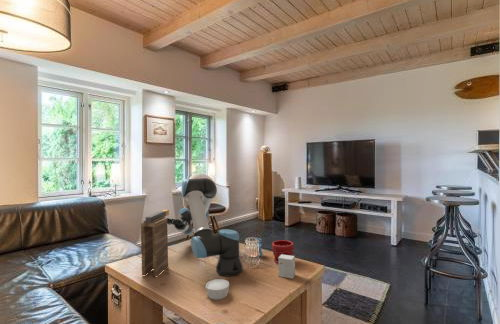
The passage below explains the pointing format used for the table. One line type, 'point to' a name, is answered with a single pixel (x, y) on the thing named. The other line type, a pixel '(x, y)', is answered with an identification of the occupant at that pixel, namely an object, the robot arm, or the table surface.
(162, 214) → the marker
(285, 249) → the plant pot
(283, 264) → the small box
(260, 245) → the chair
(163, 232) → the brown tall wooden block
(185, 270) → the table surface
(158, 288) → the table surface
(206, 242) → the robot arm
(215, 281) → the ramekin
